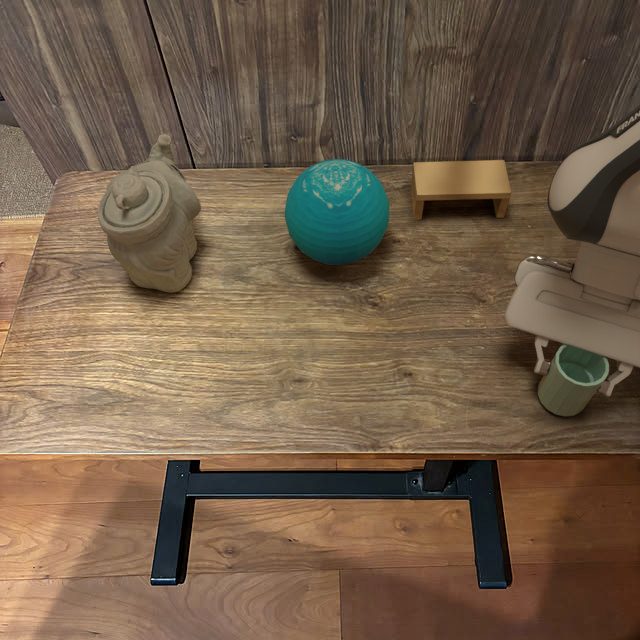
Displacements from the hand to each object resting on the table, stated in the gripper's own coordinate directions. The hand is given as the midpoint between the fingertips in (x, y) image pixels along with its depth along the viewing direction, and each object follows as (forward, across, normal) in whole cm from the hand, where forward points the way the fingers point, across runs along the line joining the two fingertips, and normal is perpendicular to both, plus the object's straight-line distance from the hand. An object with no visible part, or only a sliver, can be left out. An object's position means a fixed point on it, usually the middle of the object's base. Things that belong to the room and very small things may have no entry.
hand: (571, 383), depth 76 cm
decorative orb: (-6, -36, +13) cm, 39 cm away
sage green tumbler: (+3, 0, +4) cm, 5 cm away
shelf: (-17, -22, +24) cm, 37 cm away
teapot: (+2, -60, +6) cm, 60 cm away
